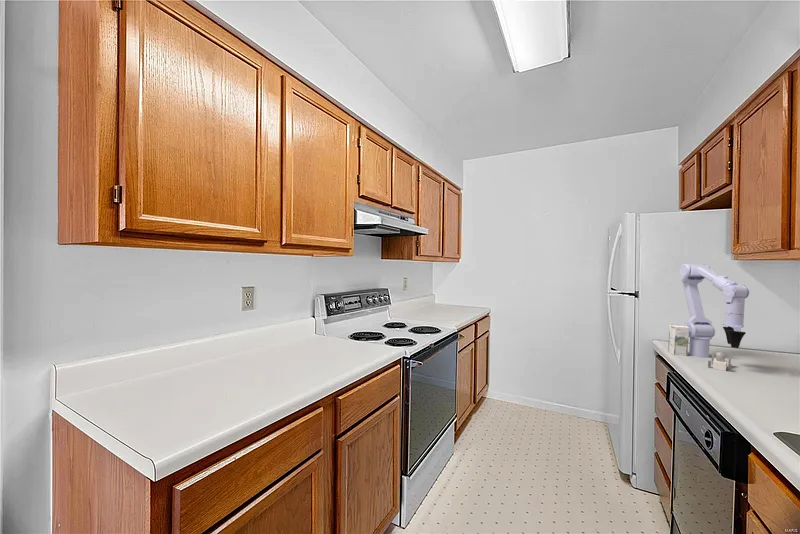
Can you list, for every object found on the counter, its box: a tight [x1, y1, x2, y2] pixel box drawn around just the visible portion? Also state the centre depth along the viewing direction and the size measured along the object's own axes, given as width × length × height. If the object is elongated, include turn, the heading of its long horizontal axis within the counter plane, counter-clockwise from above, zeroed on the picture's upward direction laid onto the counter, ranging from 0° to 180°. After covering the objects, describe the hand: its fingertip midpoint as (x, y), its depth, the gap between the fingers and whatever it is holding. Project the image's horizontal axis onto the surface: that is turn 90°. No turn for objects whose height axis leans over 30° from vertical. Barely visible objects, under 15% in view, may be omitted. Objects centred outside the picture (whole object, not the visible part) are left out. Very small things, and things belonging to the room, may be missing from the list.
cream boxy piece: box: [711, 353, 732, 368], centre depth 157 cm, size 3×6×4 cm, turn 46°
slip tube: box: [712, 351, 728, 372], centre depth 153 cm, size 8×4×6 cm, turn 136°
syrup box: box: [667, 323, 690, 357], centre depth 174 cm, size 6×6×14 cm
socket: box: [707, 360, 733, 372], centre depth 151 cm, size 2×7×3 cm, turn 46°
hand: (732, 345), depth 154 cm, fingers open, 7 cm apart
